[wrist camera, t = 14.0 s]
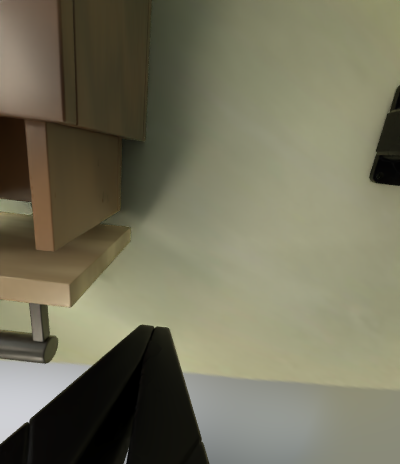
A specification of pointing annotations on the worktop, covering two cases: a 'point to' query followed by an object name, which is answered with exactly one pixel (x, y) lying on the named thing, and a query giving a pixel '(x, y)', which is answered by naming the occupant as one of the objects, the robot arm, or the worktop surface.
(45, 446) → the robot arm
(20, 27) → the cabinet
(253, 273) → the worktop surface
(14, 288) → the drawer
